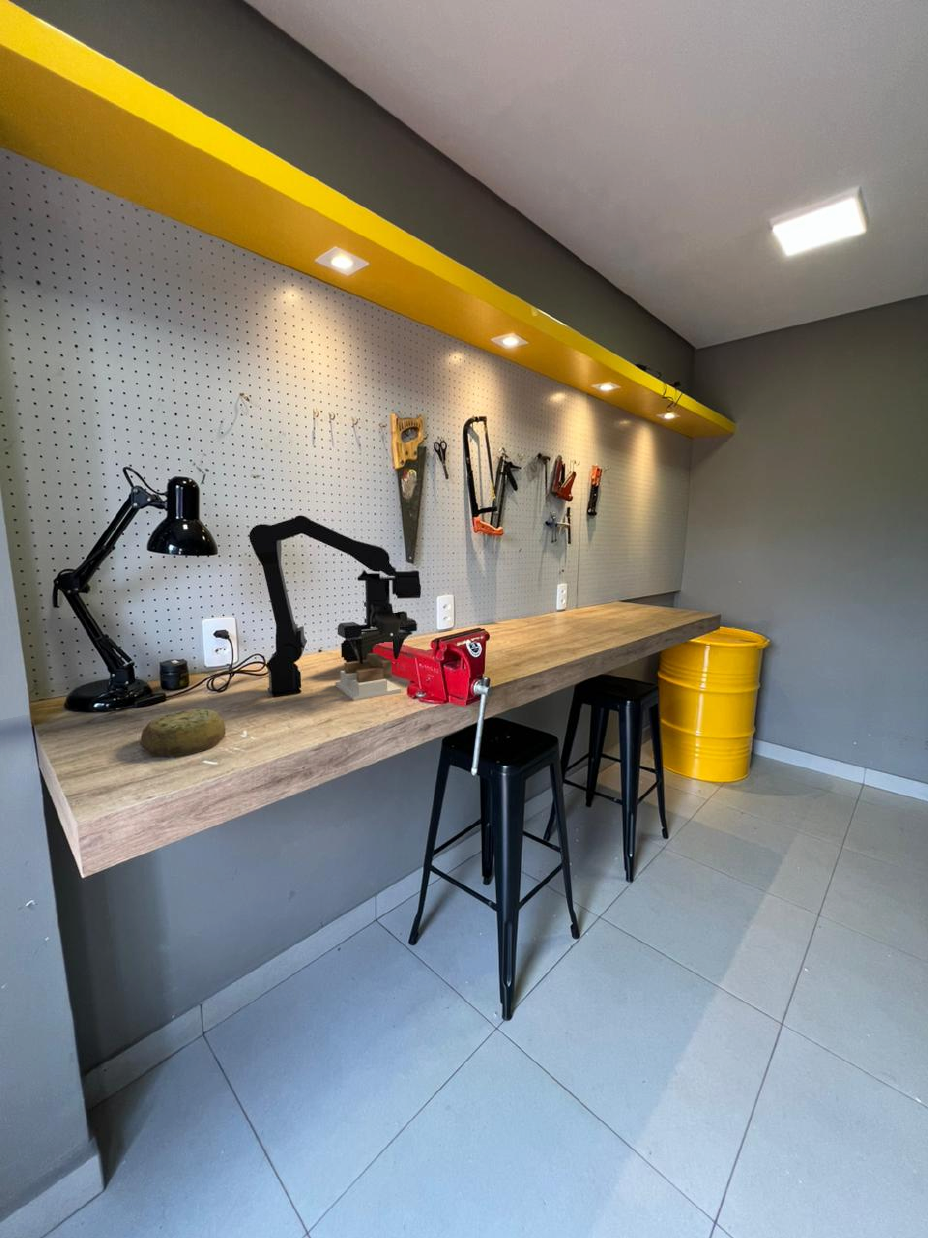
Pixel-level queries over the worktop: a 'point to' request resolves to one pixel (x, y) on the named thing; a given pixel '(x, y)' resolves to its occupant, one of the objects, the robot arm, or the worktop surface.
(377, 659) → the wooden c-shaped bracket
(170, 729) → the olive green pebble
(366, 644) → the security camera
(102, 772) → the worktop surface
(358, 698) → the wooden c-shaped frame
